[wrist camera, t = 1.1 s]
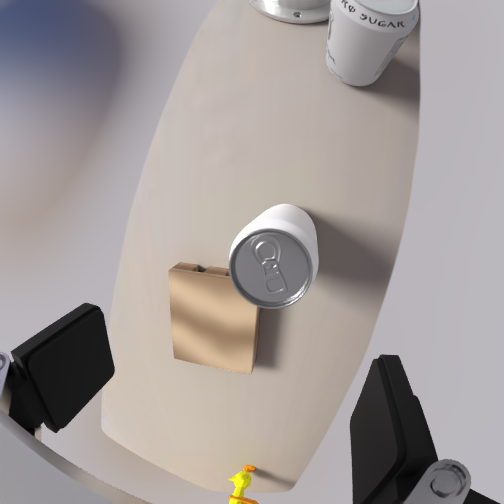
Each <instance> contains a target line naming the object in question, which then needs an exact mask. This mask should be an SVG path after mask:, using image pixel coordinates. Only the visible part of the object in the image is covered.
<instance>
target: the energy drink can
mask: <svg viewBox="0 0 504 504" xmlns="http://www.w3.org/2000/svg"><path fill="white" fill-rule="evenodd" d="M417 3H418V0H331V5H330V17H329V28H328V38H327V48H326V63H327V66H328V68H329V70H330V71H331V73H332V74H333V75H334V76H335V77H336V78H337V79H339V80H340V81H342V82H344V83H346V84H349V85H353V86H366V85H369V84H371V83H373V82H375V81H376V80H377V79H378V78H379V76H380V75H381V73H382V72H383V71H384V69H385V68H386V66H387V65H388V64H389V62H390V61H391V59H392V58H393V56H394V55H395V54H396V52H397V51H398V49H399V48H400V46H401V45H402V44H403V42H404V41H405V39H406V38H407V37H408V35H409V34H410V32H411V31H412V29H413V28H414V27H415V25H416V24H417V22H418V19H419V10H418V6H417Z"/></svg>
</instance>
